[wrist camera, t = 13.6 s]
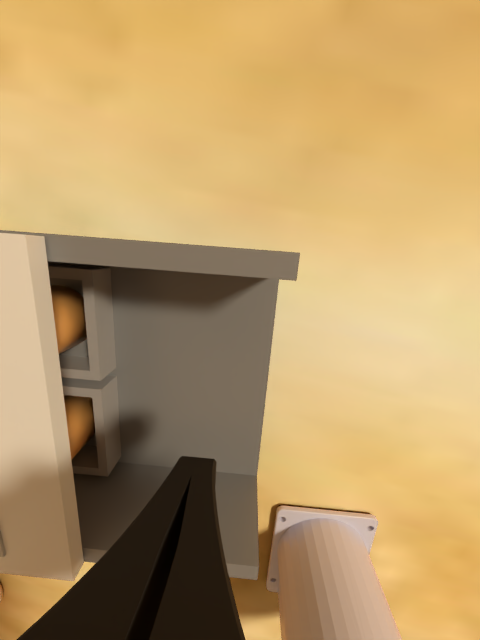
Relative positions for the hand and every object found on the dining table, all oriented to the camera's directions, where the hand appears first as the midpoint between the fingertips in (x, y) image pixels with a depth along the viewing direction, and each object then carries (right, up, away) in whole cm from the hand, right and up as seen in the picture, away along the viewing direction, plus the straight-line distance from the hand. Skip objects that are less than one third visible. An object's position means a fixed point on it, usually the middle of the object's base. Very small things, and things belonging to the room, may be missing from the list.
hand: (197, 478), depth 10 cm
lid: (-10, +1, +2) cm, 10 cm away
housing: (-5, +3, +8) cm, 10 cm away
